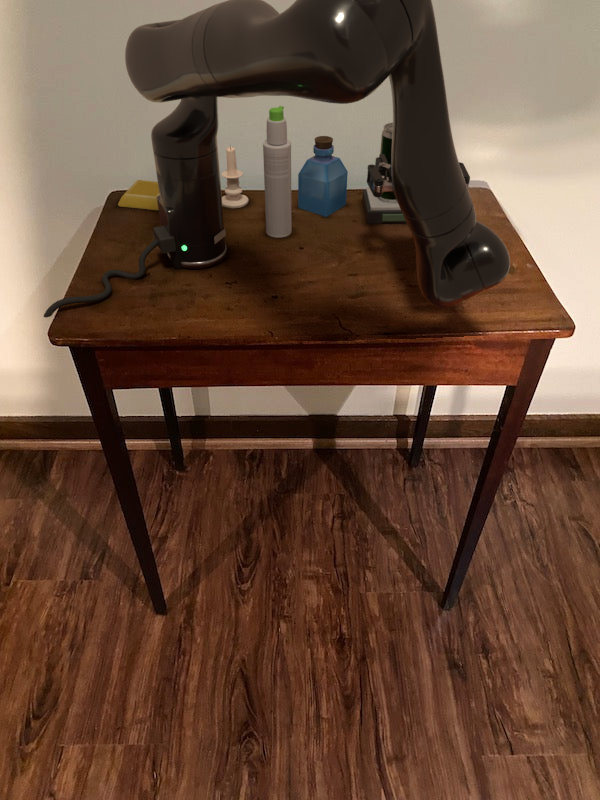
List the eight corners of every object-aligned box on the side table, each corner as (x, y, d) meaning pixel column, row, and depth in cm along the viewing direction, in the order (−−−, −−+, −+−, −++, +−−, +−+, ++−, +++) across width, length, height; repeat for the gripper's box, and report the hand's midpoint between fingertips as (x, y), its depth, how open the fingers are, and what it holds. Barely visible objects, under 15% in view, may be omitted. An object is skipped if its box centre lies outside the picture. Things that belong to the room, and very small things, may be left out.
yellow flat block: (114, 195, 119) (116, 206, 120) (160, 200, 117) (162, 211, 119) (133, 175, 125) (135, 186, 126) (177, 180, 124) (178, 190, 125)
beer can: (373, 201, 115) (379, 131, 107) (379, 189, 119) (385, 120, 111) (404, 205, 114) (412, 134, 106) (409, 192, 118) (417, 123, 110)
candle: (243, 209, 119) (240, 152, 112) (216, 207, 120) (211, 149, 113) (252, 197, 123) (249, 141, 116) (225, 194, 124) (220, 138, 117)
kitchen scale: (367, 224, 115) (368, 209, 113) (362, 201, 122) (363, 186, 120) (419, 224, 115) (421, 209, 113) (411, 200, 122) (412, 186, 120)
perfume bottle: (326, 217, 117) (328, 148, 109) (298, 207, 120) (298, 140, 112) (346, 204, 121) (349, 137, 113) (318, 196, 123) (319, 130, 116)
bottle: (297, 231, 113) (296, 109, 99) (278, 240, 110) (275, 116, 97) (279, 223, 115) (276, 102, 102) (260, 232, 113) (255, 109, 99)
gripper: (488, 178, 88) (457, 133, 100) (381, 180, 87) (364, 136, 99) (477, 230, 93) (450, 182, 105) (377, 233, 92) (360, 184, 104)
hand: (408, 159), depth 102 cm, fingers open, 8 cm apart
